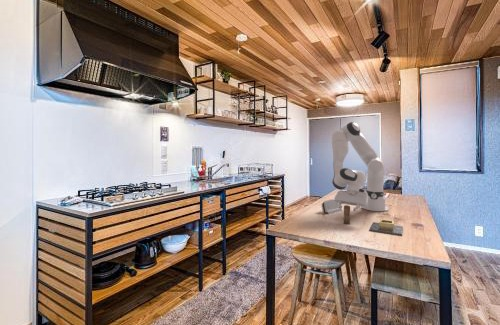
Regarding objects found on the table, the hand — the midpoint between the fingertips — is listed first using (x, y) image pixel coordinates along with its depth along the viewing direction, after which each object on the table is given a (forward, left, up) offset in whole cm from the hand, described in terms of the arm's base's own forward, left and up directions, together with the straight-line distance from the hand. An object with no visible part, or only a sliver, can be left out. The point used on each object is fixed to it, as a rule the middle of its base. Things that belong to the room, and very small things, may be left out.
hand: (347, 209), depth 163 cm
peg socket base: (+2, +22, -8) cm, 24 cm away
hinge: (-24, -16, -9) cm, 30 cm away
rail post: (+2, 0, -8) cm, 9 cm away
